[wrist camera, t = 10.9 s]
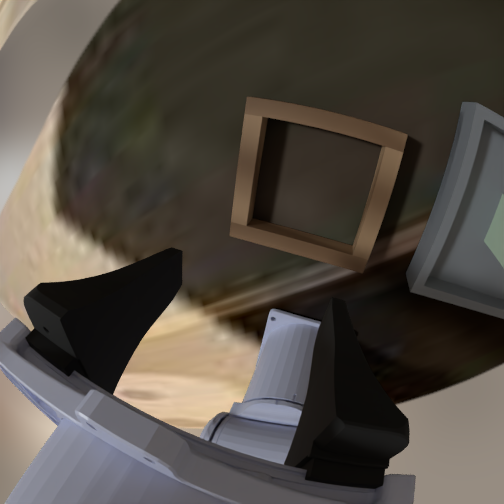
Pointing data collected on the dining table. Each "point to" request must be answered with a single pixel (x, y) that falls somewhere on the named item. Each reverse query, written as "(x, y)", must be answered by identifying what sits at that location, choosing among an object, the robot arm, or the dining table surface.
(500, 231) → the green elongated block
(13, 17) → the dining table surface
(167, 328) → the dining table surface
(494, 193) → the tray
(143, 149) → the dining table surface
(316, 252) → the square brown frame
